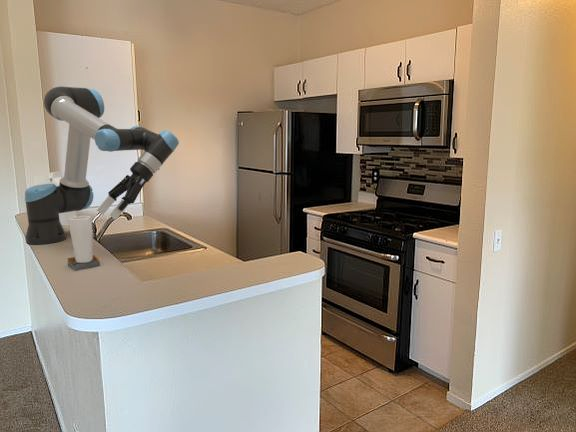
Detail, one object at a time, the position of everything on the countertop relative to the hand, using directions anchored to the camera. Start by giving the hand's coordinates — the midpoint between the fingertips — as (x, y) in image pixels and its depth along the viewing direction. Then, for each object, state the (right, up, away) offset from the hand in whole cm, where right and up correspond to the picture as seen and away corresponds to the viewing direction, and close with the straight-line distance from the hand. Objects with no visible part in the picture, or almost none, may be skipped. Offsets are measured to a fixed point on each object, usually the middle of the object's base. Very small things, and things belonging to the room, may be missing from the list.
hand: (105, 214), depth 156 cm
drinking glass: (-6, -16, -2) cm, 17 cm away
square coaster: (-7, -17, -2) cm, 18 cm away
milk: (-53, -4, +76) cm, 93 cm away
